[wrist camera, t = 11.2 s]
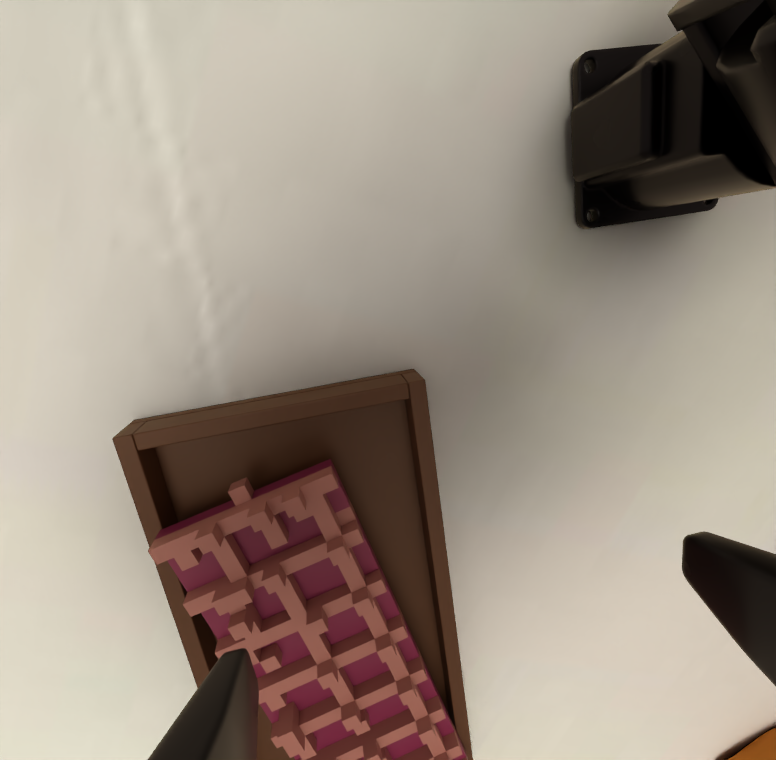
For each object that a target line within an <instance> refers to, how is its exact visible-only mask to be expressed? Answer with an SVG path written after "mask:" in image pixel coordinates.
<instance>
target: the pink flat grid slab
mask: <svg viewBox="0 0 776 760" xmlns="http://www.w3.org/2000/svg"><path fill="white" fill-rule="evenodd" d="M228 493H229V495H230V497H231V498H232V500H231V501H229V502H226V503H224V504H221V505H219V506H217V507H214V508H212V509H209V510H207V511H205V512H202V513H200V514H198V515H195V516H193V517H190V518H188V519H186V520H183V521H181V522H178V523H176V524H174V525H171V526H169V527H167V528H164V529H162V530H160V531H159V533H158V534H157V536H156V538H155V540H154V541H153V543H152V545H151V546H150V548H149V550H148V552H149V554H150V555H151V557H152V558H153V560H154V561H155V563H156V564H157V565H158V564H160V563H162V562H165V561H168V563H169V564H170V566H171V567H172V569H173V570H174V572H175V574H176V575H177V577H178V578H179V580H180V581H181V583H182V584H183V586H184V588H185V589H186V591H187V595H186V597H185V600H184V602H183V606H184V607H185V609H186V610H187V612H188V613H189V615H190V616H191V617H192V616H194V615H197V614H199V613H201V614H202V616H203V617H204V619H205V620H206V622H207V623H208V625H209V626H210V628H211V630H212V631H213V633H214V634H215V636H216V637H217V639H218V642H217V646H216V649H215V654H216V656H217V658H218V659H219V658H220V657H221V656H222V655H223V654H224V653H225V652H228V651H232V650H236V649H240V648H245V649H247V651H248V652H249V655H250V658H251V661H252V664H253V668H254V671H255V674H256V677H257V680H258V687H259V704H260V706H261V707H262V709H263V710H264V712H265V713H266V715H267V717H268V718H269V720H270V721H271V723H272V729H271V740H272V742H273V743H274V745H275V746H276V748H279V747H281V746H283V748H284V749H285V751H286V752H287V754H288V755H289V757H290V758H291V757H294V758H295V760H468V757H467V754H466V751H465V749H464V747H463V745H462V742H461V740H460V738H459V736H458V734H457V732H456V729H455V727H454V725H453V723H452V721H451V719H450V716H449V714H448V712H447V710H446V708H445V706H444V703H443V701H442V699H441V697H440V695H439V693H438V690H437V688H436V686H435V684H434V682H433V680H432V677H431V675H430V673H429V671H428V669H427V666H426V664H425V662H424V660H423V658H422V656H421V653H420V651H419V649H418V647H417V645H416V643H415V640H414V638H413V636H412V634H411V632H410V630H409V627H408V625H407V623H406V621H405V619H404V617H403V614H402V612H401V610H400V608H399V606H398V604H397V601H396V599H395V597H394V595H393V593H392V591H391V588H390V586H389V584H388V582H387V580H386V578H385V575H384V573H383V571H382V569H381V567H380V565H379V562H378V560H377V558H376V556H375V554H374V552H373V549H372V547H371V545H370V543H369V541H368V539H367V536H366V534H365V532H364V530H363V528H362V526H361V523H360V521H359V519H358V517H357V515H356V513H355V510H354V508H353V506H352V504H351V502H350V500H349V497H348V495H347V493H346V491H345V489H344V487H343V484H342V482H341V480H340V478H339V476H338V474H337V471H336V469H335V467H334V465H333V463H332V461H331V459H329V460H326V461H324V462H321V463H319V464H317V465H314V466H312V467H310V468H307V469H305V470H302V471H300V472H298V473H295V474H293V475H290V476H288V477H286V478H283V479H281V480H279V481H276V482H274V483H271V484H269V485H267V486H264V487H262V488H259V489H257V490H255V491H254V490H253V488H252V486H251V484H250V482H249V480H248V479H247V477H246V478H244V479H241V480H239V481H236V482H234V483H232V484H231V485H230V488H229V490H228ZM259 704H258V705H259Z"/></svg>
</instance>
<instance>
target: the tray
mask: <svg viewBox="0 0 776 760" xmlns="http://www.w3.org/2000/svg"><path fill="white" fill-rule="evenodd" d="M113 442H114V445H115V448H116V451H117V454H118V457H119V459H120V462H121V465H122V468H123V471H124V474H125V477H126V480H127V483H128V486H129V489H130V492H131V495H132V497H133V500H134V503H135V506H136V509H137V512H138V515H139V518H140V521H141V524H142V527H143V530H144V532H145V535H146V538H147V541H148V544H149V547H150V546H151V545H152V543H153V541H154V540H155V538H156V536H157V534H158V533H159V531H160V530H162V529H164V528H167V527H169V526H171V525H174V524H176V523H178V522H181V521H183V520H186V519H188V518H190V517H193V516H195V515H198V514H200V513H202V512H205V511H207V510H209V509H212V508H214V507H217V506H219V505H221V504H224V503H226V502H229V501H231V500H232V498H231V497H230V495H229V493H228V490H229V488H230V485H231V484H232V483H234V482H236V481H239V480H241V479H244V478H246V477H247V479H248V480H249V482H250V484H251V486H252V488H253V490H254V491H255V490H257V489H259V488H262V487H264V486H267V485H269V484H271V483H274V482H276V481H279V480H281V479H283V478H286V477H288V476H290V475H293V474H295V473H298V472H300V471H302V470H305V469H307V468H310V467H312V466H314V465H317V464H319V463H321V462H324V461H326V460H329V459H331V461H332V463H333V465H334V467H335V469H336V471H337V474H338V476H339V478H340V480H341V482H342V484H343V487H344V489H345V491H346V493H347V495H348V497H349V500H350V502H351V504H352V506H353V508H354V510H355V513H356V515H357V517H358V519H359V521H360V523H361V526H362V528H363V530H364V532H365V534H366V536H367V539H368V541H369V543H370V545H371V547H372V549H373V552H374V554H375V556H376V558H377V560H378V562H379V565H380V567H381V569H382V571H383V573H384V575H385V578H386V580H387V582H388V584H389V586H390V588H391V591H392V593H393V595H394V597H395V599H396V601H397V604H398V606H399V608H400V610H401V612H402V614H403V617H404V619H405V621H406V623H407V625H408V627H409V630H410V632H411V634H412V636H413V638H414V640H415V643H416V645H417V647H418V649H419V651H420V653H421V656H422V658H423V660H424V662H425V664H426V666H427V669H428V671H429V673H430V675H431V677H432V680H433V682H434V684H435V686H436V688H437V690H438V693H439V695H440V697H441V699H442V701H443V703H444V706H445V708H446V710H447V712H448V714H449V716H450V719H451V721H452V723H453V725H454V727H455V729H456V732H457V734H458V736H459V738H460V740H461V742H462V745H463V747H464V749H465V751H466V754H467V757H468V760H473V758H472V750H471V742H470V734H469V726H468V718H467V710H466V702H465V694H464V686H463V678H462V670H461V662H460V654H459V647H458V639H457V631H456V623H455V615H454V607H453V599H452V591H451V583H450V575H449V567H448V559H447V551H446V543H445V535H444V527H443V519H442V512H441V504H440V496H439V488H438V480H437V472H436V464H435V456H434V448H433V440H432V432H431V424H430V416H429V408H428V400H427V392H426V384H425V380H424V379H423V378H422V377H421V376H420V375H419V374H418V373H417V372H416V371H415V370H414V369H410V370H405V371H399V372H394V373H389V374H383V375H378V376H372V377H367V378H361V379H356V380H350V381H345V382H339V383H334V384H329V385H323V386H318V387H312V388H307V389H301V390H296V391H290V392H285V393H280V394H274V395H269V396H263V397H258V398H252V399H247V400H241V401H236V402H230V403H225V404H220V405H214V406H209V407H203V408H198V409H192V410H187V411H181V412H176V413H171V414H165V415H160V416H154V417H149V418H143V419H138V420H134V421H132V422H131V423H130V424H129V425H127V426H126V427H125V428H124V429H123V430H122V431H120V432H119V433H118V434H117V435H116V436H114V437H113ZM154 562H155V561H154ZM155 565H156V568H157V570H158V573H159V576H160V579H161V582H162V585H163V588H164V591H165V594H166V597H167V600H168V603H169V605H170V608H171V611H172V614H173V617H174V620H175V623H176V626H177V629H178V632H179V635H180V638H181V640H182V643H183V646H184V649H185V652H186V655H187V658H188V661H189V664H190V667H191V670H192V673H193V676H194V678H195V681H196V684H197V687H198V688H199V686H200V685H201V684H202V682H203V681H204V679H205V678H206V676H207V675H208V674H209V672H210V671H211V669H212V668H213V667H214V665H215V664H216V662H217V661H218V658H217V656H216V654H215V649H216V646H217V642H218V639H217V637H216V636H215V634H214V633H213V631H212V630H211V628H210V626H209V625H208V623H207V622H206V620H205V619H204V617H203V616H202V614H201V613H199V614H197V615H194V616H192V617H191V616H190V615H189V613H188V612H187V610H186V609H185V607H184V606H183V602H184V600H185V597H186V595H187V591H186V589H185V588H184V586H183V584H182V583H181V581H180V580H179V578H178V577H177V575H176V574H175V572H174V570H173V569H172V567H171V566H170V564H169V563H168V561H165V562H162V563H160V564H158V565H157V564H156V563H155ZM271 729H272V723H271V721H270V720H269V718H268V717H267V715H266V713H265V712H264V710H263V709H262V707H261V706H260V704H259V705H258V730H257V757H256V760H295V758H294V757H291V758H290V757H289V755H288V754H287V752H286V751H285V749H284V748H283V746H281V747H279V748H276V746H275V745H274V743H273V742H272V740H271Z"/></svg>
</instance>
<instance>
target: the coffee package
mask: <svg viewBox="0 0 776 760" xmlns="http://www.w3.org/2000/svg"><path fill="white" fill-rule="evenodd" d="M727 760H776V728H774V729H771V730H769V731H768V732H766V733H764V734H763V735H761V736H760V737H758V738H757V739H756V740H754V741H753V742H752V743H750V744H749V745H747V746H746V747H745V748H743V749H742V750H741V751H739V752H738V753H737V754H735V755H734V756H733V757H731V758H729V759H727Z"/></svg>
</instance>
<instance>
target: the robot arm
mask: <svg viewBox="0 0 776 760" xmlns="http://www.w3.org/2000/svg"><path fill="white" fill-rule="evenodd" d="M667 15H668V17H669V19H670V20H671V22H672V23H673V25H674V27H675V28H676V30H677V31H680V30H683V31H682V32H680V33H679V34H677V35H676V36H674V37H672V38H671V39H669V40H668V41H666V42H665V43H663V44H653V45H643V46H632V47H622V48H612V49H601V50H591V51H587V52H585V53H584V54H582V55H581V56H580V57H579V58H578V59H577V60H576V61H575V63H574V65H573V70H572V77H573V110H572V112H571V129H572V167H573V177H574V179H575V197H576V221H577V224H578V225H579V226H580V227H581V228H583V229H589V228H596V227H603V226H610V225H616V224H623V223H629V222H636V221H643V220H649V219H656V218H663V217H669V216H676V215H682V214H689V213H696V212H702V211H708V210H711V209H712V208H714V207H715V205H716V204H717V202H718V198H721V197H727V196H732V195H738V194H744V193H750V192H756V191H761V190H767V189H773V188H776V0H679V1H678V3H677V4H676V5H675V6H674V7H673V8H672V9H671V10H670V11H669V13H668V14H667ZM585 63H587V64H588V65H589V67H590V72H589V73H587V72H586V71H585V68H584V64H585ZM703 200H705V203H704V201H703ZM589 211H590V212H591V213H592V219H591V221H589V220H588V219H587V213H588V212H589ZM682 570H683V574H684V576H685V578H686V580H687V581H688V583H689V584H690V585H691V586H692V588H693V589H694V590H695V591H696V593H697V594H698V595H699V596H700V598H701V599H702V600H703V601H704V603H705V604H706V605H707V606H708V608H709V609H710V610H711V611H712V613H713V614H714V615H715V616H716V618H717V619H718V620H719V621H720V623H721V624H722V625H723V626H724V628H725V629H726V630H727V631H728V633H729V634H730V635H731V636H732V638H733V639H734V640H735V641H736V643H737V644H738V645H739V646H740V647H741V649H742V650H743V651H744V652H745V653H746V654H747V656H748V657H749V658H750V659H751V660H752V661H753V662H754V663H755V664H756V666H757V667H758V668H759V669H760V670H761V671H762V672H763V673H764V674H765V675H766V676H767V677H768V678H769V679H770V681H771V682H772V683H773V684H774V685H775V686H776V554H773V553H770V552H767V551H764V550H761V549H758V548H755V547H752V546H749V545H746V544H742V543H739V542H736V541H733V540H730V539H727V538H724V537H721V536H718V535H715V534H712V533H709V532H699V533H695V534H691V535H687V536H686V537H685V538H684V540H683V554H682ZM258 704H259V687H258V680H257V677H256V674H255V671H254V668H253V664H252V661H251V658H250V655H249V652H248V651H247V649H245V648H240V649H236V650H232V651H228V652H225V653H224V654H223V655H222V656H221V657H220V658H219V659H218V661H217V662H216V664H215V665H214V667H213V668H212V669H211V671H210V672H209V674H208V675H207V676H206V678H205V679H204V681H203V682H202V684H201V685H200V686H199V688H198V689H197V691H196V692H195V693H194V695H193V696H192V698H191V699H190V701H189V702H188V703H187V705H186V706H185V708H184V709H183V710H182V712H181V713H180V715H179V716H178V718H177V719H176V720H175V722H174V723H173V725H172V726H171V727H170V729H169V730H168V732H167V733H166V735H165V736H164V737H163V739H162V740H161V742H160V743H159V744H158V746H157V747H156V749H155V750H154V751H153V753H152V754H151V756H150V757H149V759H148V760H256V757H257V730H258Z"/></svg>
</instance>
